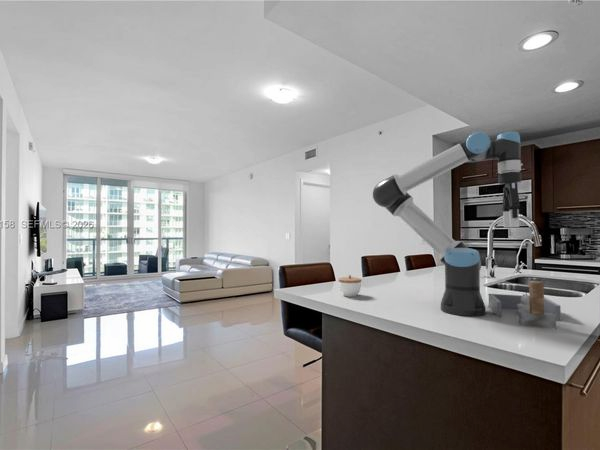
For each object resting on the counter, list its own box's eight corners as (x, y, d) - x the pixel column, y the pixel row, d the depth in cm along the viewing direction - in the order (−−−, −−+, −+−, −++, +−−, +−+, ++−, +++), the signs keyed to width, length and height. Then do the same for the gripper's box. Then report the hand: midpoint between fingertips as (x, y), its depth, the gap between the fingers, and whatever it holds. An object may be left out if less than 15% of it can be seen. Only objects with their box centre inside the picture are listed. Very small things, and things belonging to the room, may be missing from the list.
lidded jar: (345, 292, 158) (345, 273, 158) (365, 294, 151) (365, 274, 151) (334, 295, 149) (334, 275, 149) (355, 298, 143) (355, 277, 143)
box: (497, 315, 113) (497, 301, 113) (488, 306, 127) (488, 293, 127) (560, 320, 106) (560, 305, 107) (544, 310, 121) (544, 296, 121)
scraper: (521, 325, 102) (521, 281, 102) (519, 323, 104) (518, 280, 105) (556, 328, 98) (555, 283, 99) (552, 325, 101) (551, 281, 101)
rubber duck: (539, 315, 113) (538, 293, 114) (526, 317, 111) (525, 294, 111) (524, 311, 119) (524, 290, 119) (511, 313, 116) (511, 291, 117)
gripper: (528, 166, 111) (530, 226, 110) (514, 176, 133) (516, 227, 133) (503, 168, 114) (505, 227, 113) (493, 178, 137) (495, 227, 136)
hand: (511, 227), depth 123 cm, fingers open, 13 cm apart
